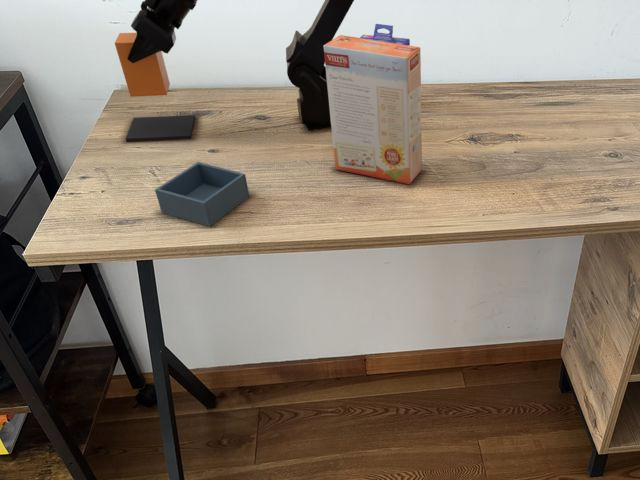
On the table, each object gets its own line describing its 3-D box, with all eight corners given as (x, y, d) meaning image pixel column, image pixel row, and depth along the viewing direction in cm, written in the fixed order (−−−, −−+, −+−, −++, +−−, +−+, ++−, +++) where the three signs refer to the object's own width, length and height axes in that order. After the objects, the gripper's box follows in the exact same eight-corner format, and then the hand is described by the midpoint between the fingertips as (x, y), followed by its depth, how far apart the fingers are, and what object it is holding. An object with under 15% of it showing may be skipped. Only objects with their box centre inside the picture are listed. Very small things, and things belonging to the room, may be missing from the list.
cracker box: (423, 170, 118) (422, 45, 104) (409, 186, 114) (407, 58, 100) (349, 155, 121) (340, 31, 107) (334, 170, 117) (321, 43, 103)
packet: (170, 84, 123) (156, 31, 117) (166, 95, 120) (152, 41, 114) (134, 85, 122) (119, 32, 116) (130, 96, 119) (114, 42, 112)
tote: (203, 184, 112) (198, 161, 109) (249, 196, 110) (245, 173, 107) (161, 212, 105) (154, 189, 102) (209, 226, 103) (204, 203, 100)
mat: (195, 118, 130) (194, 115, 130) (190, 138, 124) (190, 135, 123) (134, 120, 128) (133, 117, 128) (126, 141, 122) (125, 138, 121)
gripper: (145, -70, 113) (96, 3, 118) (127, -42, 99) (73, 40, 105) (205, -18, 120) (156, 49, 125) (196, 15, 106) (141, 88, 112)
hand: (132, 55), depth 117 cm, fingers closed on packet, 5 cm apart
